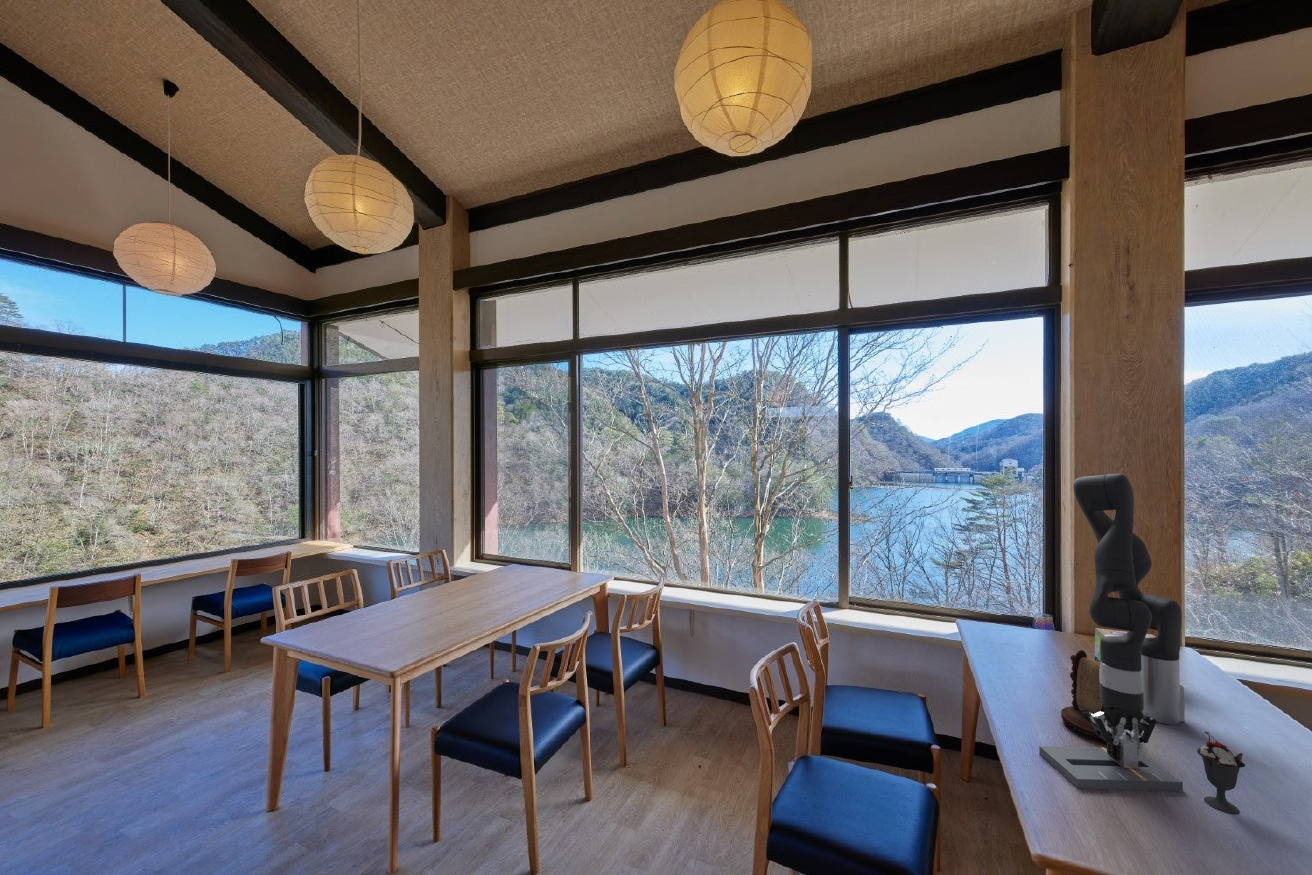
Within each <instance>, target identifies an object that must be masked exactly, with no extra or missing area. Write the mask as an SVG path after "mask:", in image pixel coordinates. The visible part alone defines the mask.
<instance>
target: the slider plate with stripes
mask: <svg viewBox="0 0 1312 875" xmlns="http://www.w3.org/2000/svg"><path fill="white" fill-rule="evenodd" d="M1038 747H1039V755H1040V756H1041V757H1042V758H1043V759H1044V760H1045V761H1047V762H1048V763H1049V764H1050V765H1051V766H1052V767H1054V769H1056V770H1057V771H1058V772H1059V774H1061V775H1062V776H1064V778H1066V779H1067V780H1068V781H1069V782H1070V783H1071V784H1072V785H1073V786H1074V787H1075V788H1076V789H1096V790H1097V789H1099V790H1101V789H1103V790H1129V791H1130V790H1131V791H1133V790H1134V791H1161V792H1184V785H1183V784H1184V782H1183V781H1181V779H1179V778H1177V777H1176V776H1175V775H1173V774H1172V773H1170V772H1169V771H1167V770H1165V769H1164V768H1163V767H1162V766H1160V765H1159V764H1157V763H1155V762H1154V761H1153V760H1151V759H1150V758H1149V757H1147V756H1146V755H1144V754H1143V753H1141V752H1140V751H1138V769H1135V768H1123V767H1122V766H1118V763H1117V762H1115V761H1114V760H1113V759H1111V758H1110V757H1109V756H1108V753H1107V747H1103V746H1100V747H1099V746H1098V747H1093V746H1092V747H1091V746H1088V747H1087V746H1060V745H1059V746H1057V745H1054V746H1053V745H1039V746H1038Z"/></svg>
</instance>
